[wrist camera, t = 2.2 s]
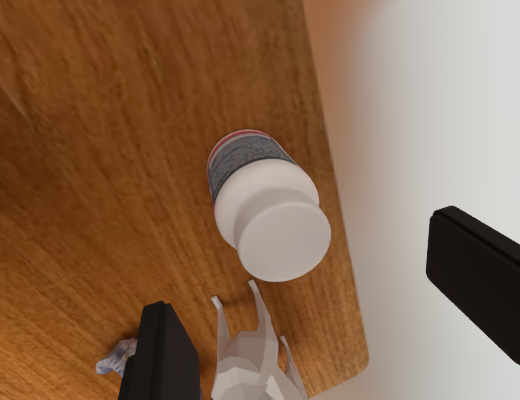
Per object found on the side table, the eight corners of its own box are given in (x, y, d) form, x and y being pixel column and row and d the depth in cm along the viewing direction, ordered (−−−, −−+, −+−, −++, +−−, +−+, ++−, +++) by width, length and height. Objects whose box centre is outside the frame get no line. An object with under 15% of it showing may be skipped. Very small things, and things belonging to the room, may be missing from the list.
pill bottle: (188, 167, 19) (191, 251, 11) (249, 110, 18) (296, 157, 10) (243, 215, 21) (276, 311, 14) (298, 167, 20) (366, 239, 13)
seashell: (106, 326, 25) (194, 363, 30) (65, 400, 22) (171, 428, 27) (136, 330, 21) (229, 371, 26) (91, 419, 18) (207, 447, 23)
